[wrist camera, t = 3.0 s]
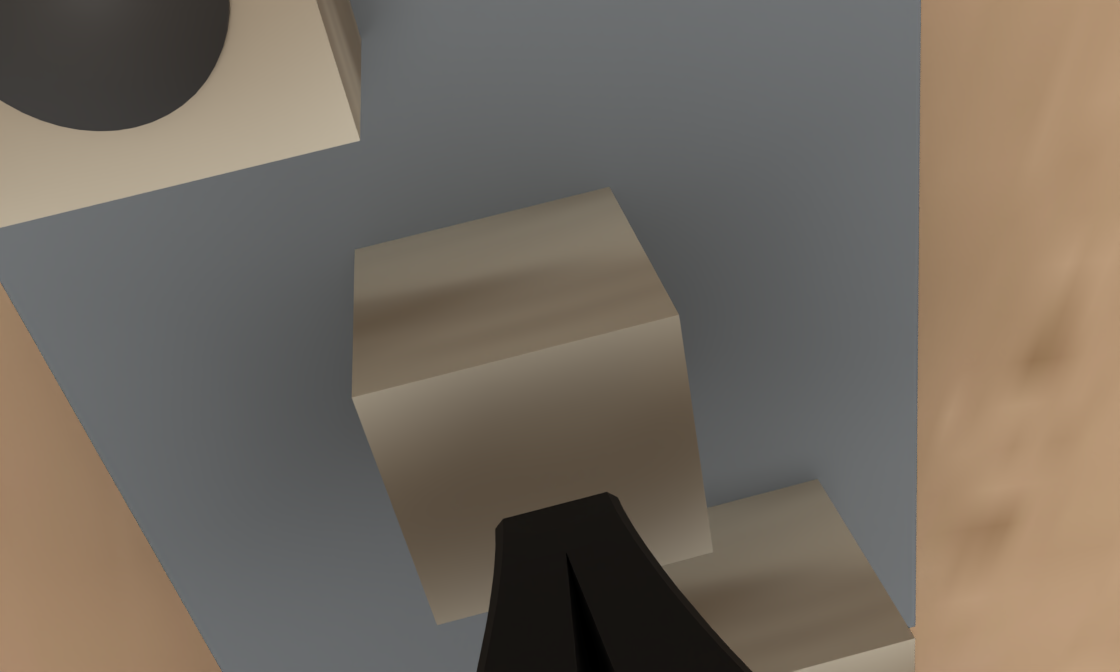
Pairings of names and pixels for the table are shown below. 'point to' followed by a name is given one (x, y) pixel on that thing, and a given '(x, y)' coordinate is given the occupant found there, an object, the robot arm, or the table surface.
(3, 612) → the table surface
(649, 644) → the robot arm
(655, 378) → the plain block
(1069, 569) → the table surface
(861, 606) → the dotted block
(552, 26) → the tapping mat
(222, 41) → the dotted block
